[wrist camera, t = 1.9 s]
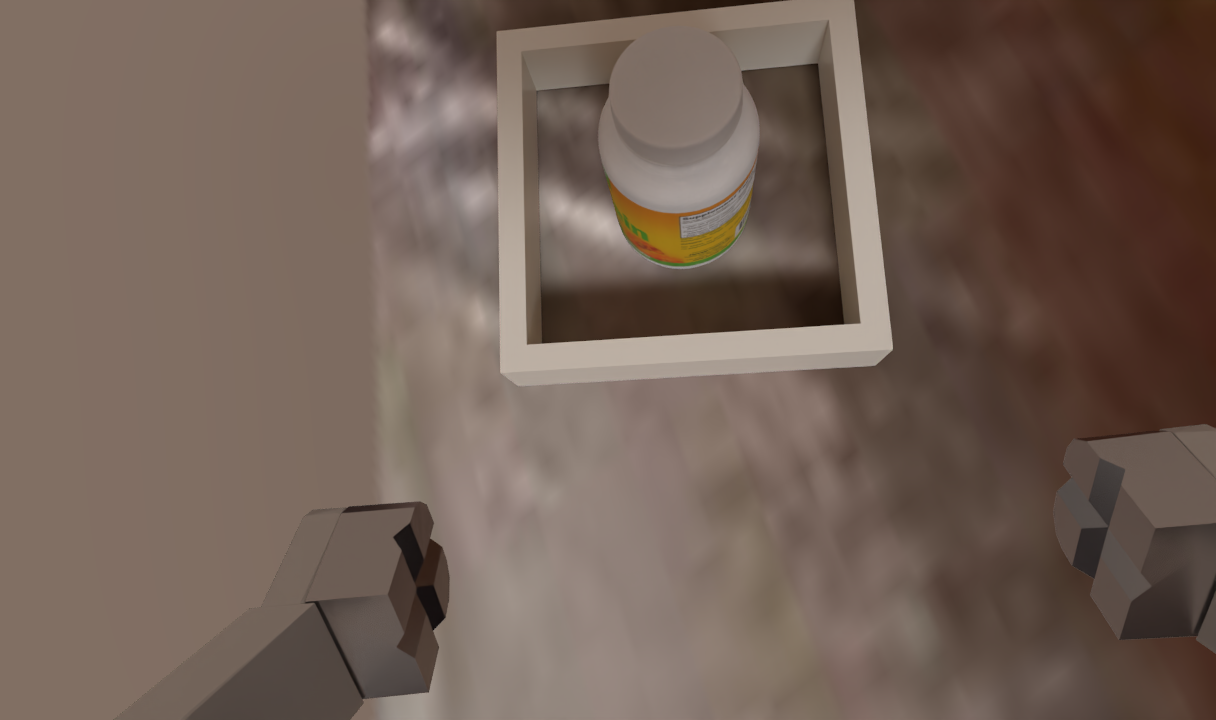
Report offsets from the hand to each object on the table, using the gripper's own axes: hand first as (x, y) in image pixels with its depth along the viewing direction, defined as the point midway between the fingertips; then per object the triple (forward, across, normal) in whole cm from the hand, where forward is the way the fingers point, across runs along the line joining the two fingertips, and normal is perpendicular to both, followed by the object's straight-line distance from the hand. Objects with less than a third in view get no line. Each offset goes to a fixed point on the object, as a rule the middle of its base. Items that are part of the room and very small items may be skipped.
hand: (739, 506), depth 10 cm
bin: (+23, 0, +6) cm, 24 cm away
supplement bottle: (+24, 0, +6) cm, 24 cm away
